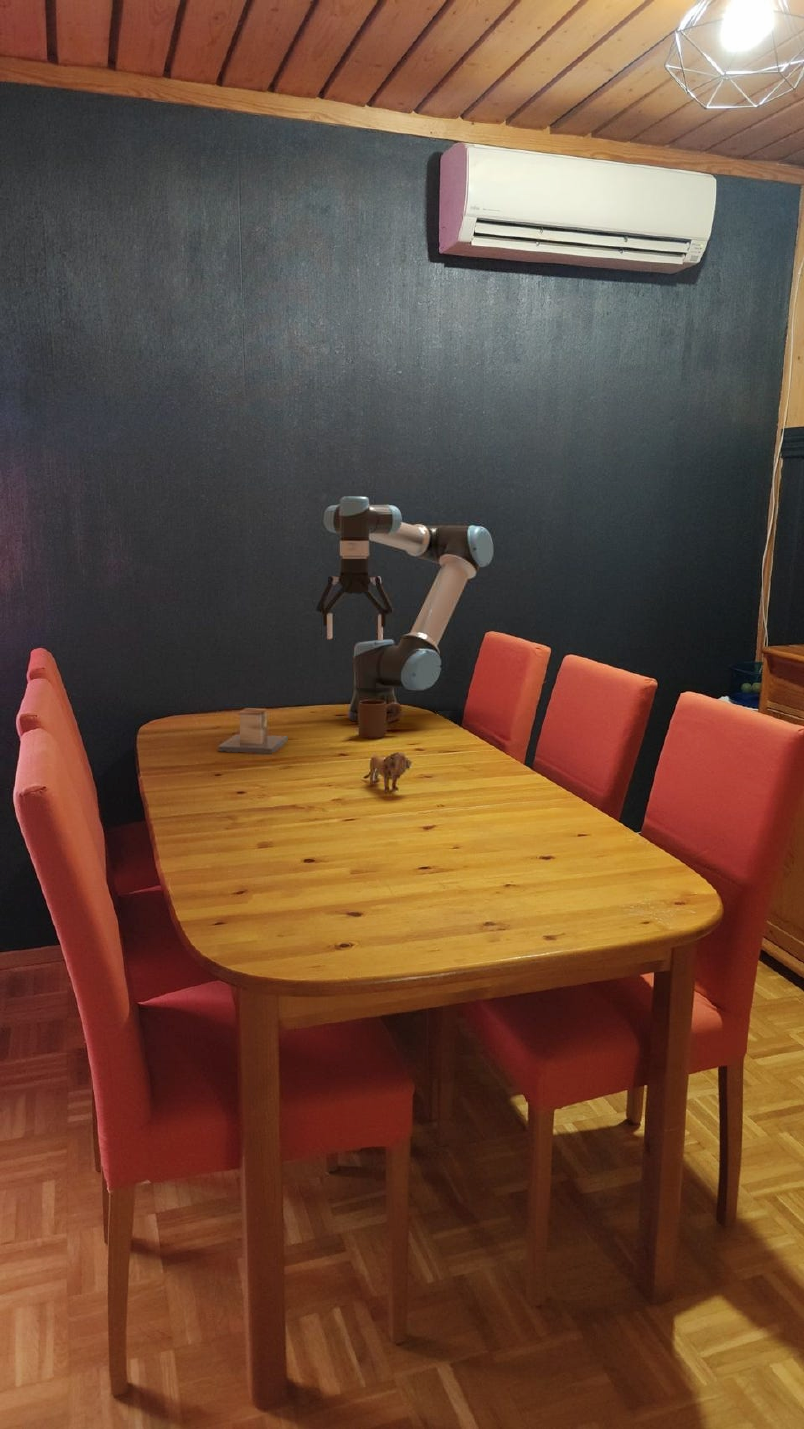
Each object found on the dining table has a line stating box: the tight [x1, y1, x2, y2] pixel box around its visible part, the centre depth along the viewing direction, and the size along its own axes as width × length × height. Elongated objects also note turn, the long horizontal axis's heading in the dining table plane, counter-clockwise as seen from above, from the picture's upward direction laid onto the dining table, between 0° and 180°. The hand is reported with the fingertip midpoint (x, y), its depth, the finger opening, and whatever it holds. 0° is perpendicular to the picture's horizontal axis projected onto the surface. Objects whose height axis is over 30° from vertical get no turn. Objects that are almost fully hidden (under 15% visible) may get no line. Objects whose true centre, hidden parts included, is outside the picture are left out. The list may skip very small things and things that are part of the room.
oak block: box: [238, 707, 268, 744], centre depth 248 cm, size 6×6×8 cm
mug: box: [357, 700, 403, 740], centre depth 261 cm, size 12×8×9 cm, turn 102°
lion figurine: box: [363, 751, 413, 794], centre depth 211 cm, size 15×5×9 cm, turn 41°
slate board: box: [217, 733, 288, 755], centre depth 249 cm, size 14×14×1 cm
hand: (355, 639), depth 253 cm, fingers open, 13 cm apart
